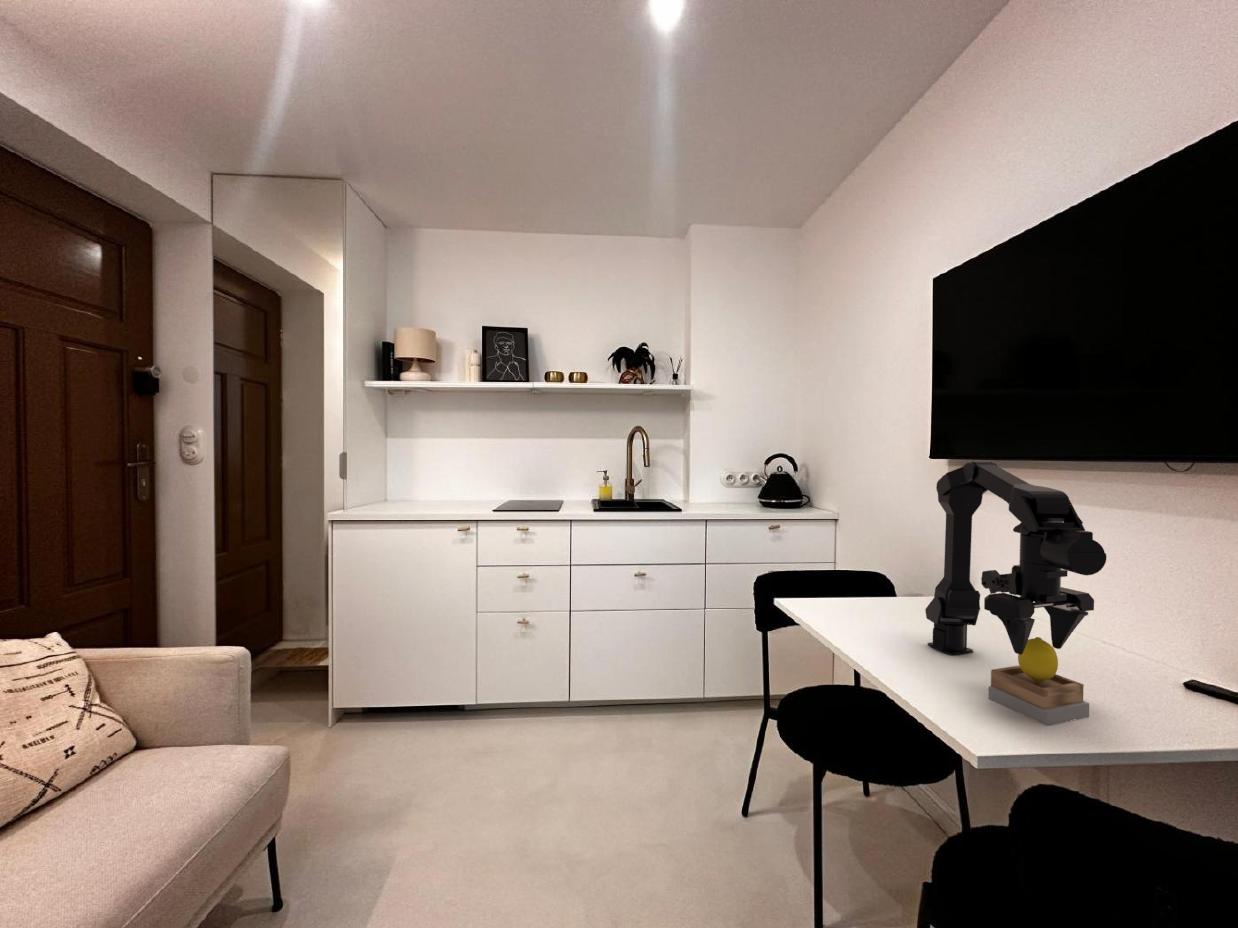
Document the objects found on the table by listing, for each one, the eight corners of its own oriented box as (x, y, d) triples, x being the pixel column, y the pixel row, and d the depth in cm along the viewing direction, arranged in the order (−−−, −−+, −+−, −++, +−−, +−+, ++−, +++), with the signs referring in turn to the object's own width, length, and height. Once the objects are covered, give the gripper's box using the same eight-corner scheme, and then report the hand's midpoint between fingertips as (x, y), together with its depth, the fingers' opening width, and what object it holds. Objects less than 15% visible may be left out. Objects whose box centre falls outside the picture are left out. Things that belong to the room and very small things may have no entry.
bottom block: (1028, 695, 101) (1028, 679, 100) (1088, 720, 91) (1089, 703, 91) (988, 702, 98) (988, 686, 97) (1047, 729, 88) (1047, 711, 88)
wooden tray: (1028, 679, 100) (1028, 663, 100) (1083, 701, 91) (1083, 684, 91) (990, 685, 98) (991, 669, 98) (1043, 709, 89) (1044, 691, 89)
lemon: (1047, 678, 96) (1049, 634, 96) (1063, 691, 91) (1065, 644, 91) (1011, 674, 98) (1013, 630, 98) (1025, 686, 92) (1026, 640, 92)
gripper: (1031, 551, 104) (1029, 631, 104) (957, 556, 99) (955, 640, 99) (1097, 562, 93) (1094, 651, 94) (1018, 569, 88) (1016, 663, 88)
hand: (1037, 650), depth 94 cm, fingers open, 9 cm apart
